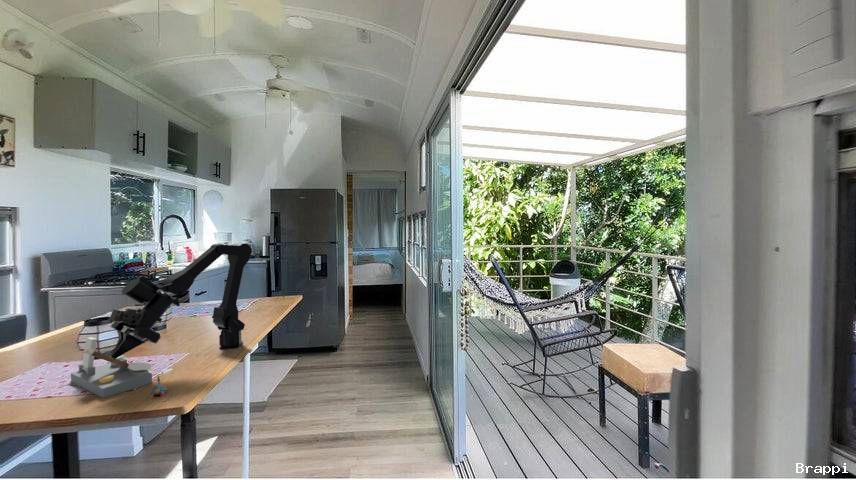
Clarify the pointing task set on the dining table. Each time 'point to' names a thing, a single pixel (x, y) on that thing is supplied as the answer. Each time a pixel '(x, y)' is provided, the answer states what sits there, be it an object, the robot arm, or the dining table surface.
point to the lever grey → (88, 359)
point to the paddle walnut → (106, 358)
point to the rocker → (139, 366)
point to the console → (110, 379)
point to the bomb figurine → (158, 390)
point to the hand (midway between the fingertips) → (112, 358)
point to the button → (118, 359)
